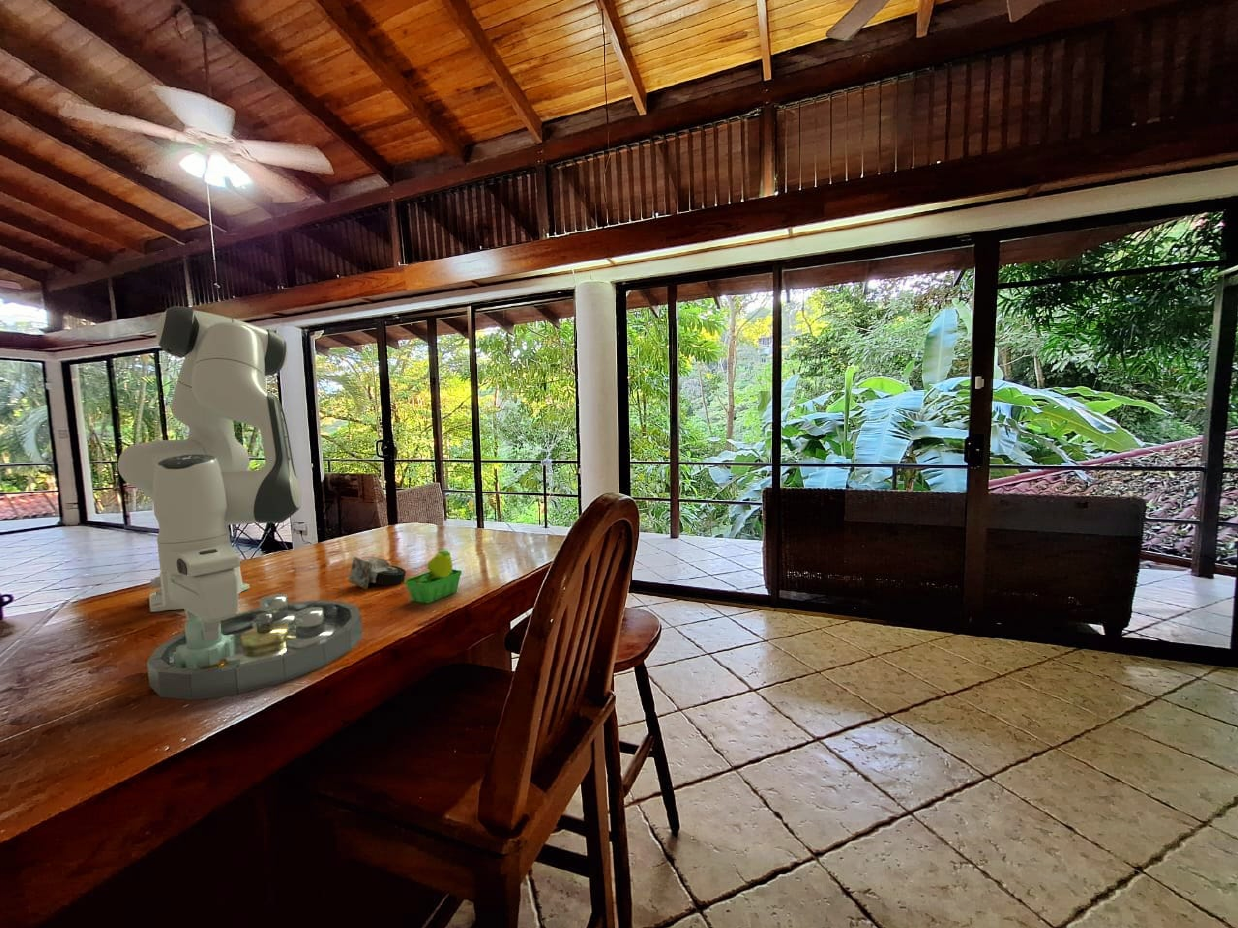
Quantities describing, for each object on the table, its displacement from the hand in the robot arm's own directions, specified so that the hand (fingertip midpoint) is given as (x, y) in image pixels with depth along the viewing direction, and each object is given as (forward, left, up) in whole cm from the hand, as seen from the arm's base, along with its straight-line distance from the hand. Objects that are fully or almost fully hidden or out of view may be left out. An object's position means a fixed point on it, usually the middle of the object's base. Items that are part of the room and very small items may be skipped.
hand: (204, 636), depth 79 cm
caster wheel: (-20, +42, -7) cm, 47 cm away
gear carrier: (0, +8, -6) cm, 11 cm away
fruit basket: (+2, +42, -7) cm, 43 cm away
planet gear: (0, 0, -4) cm, 4 cm away
